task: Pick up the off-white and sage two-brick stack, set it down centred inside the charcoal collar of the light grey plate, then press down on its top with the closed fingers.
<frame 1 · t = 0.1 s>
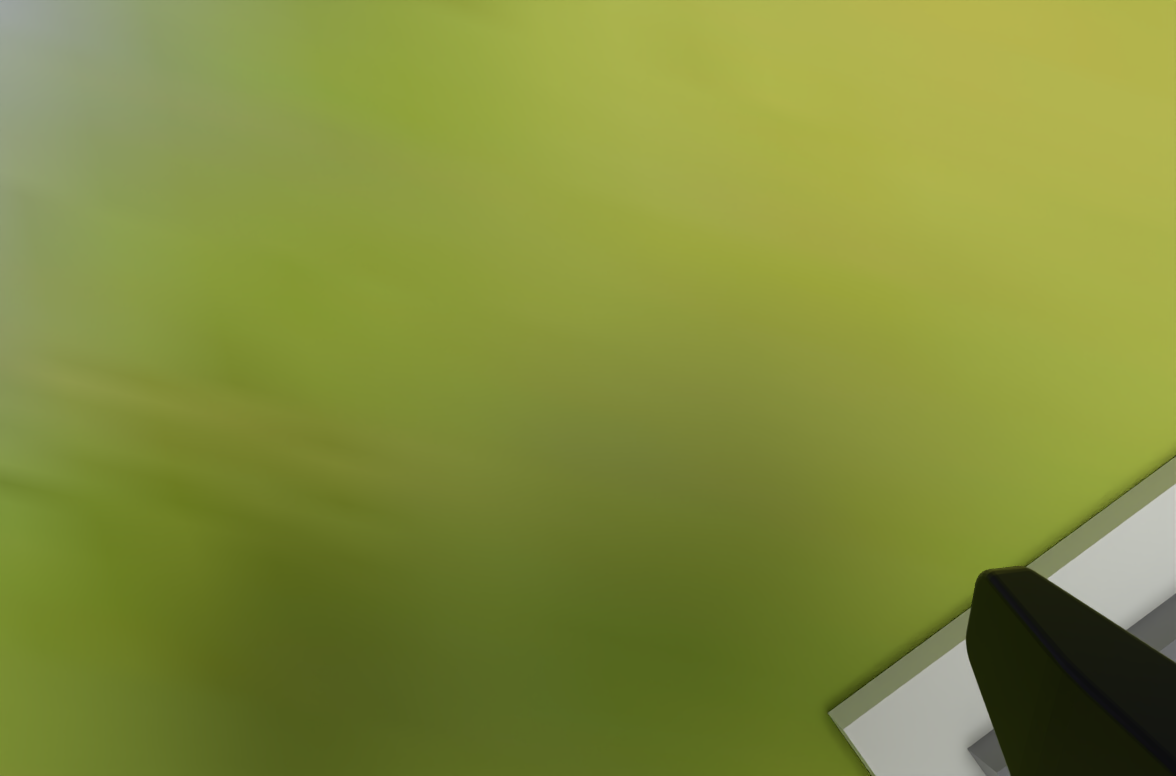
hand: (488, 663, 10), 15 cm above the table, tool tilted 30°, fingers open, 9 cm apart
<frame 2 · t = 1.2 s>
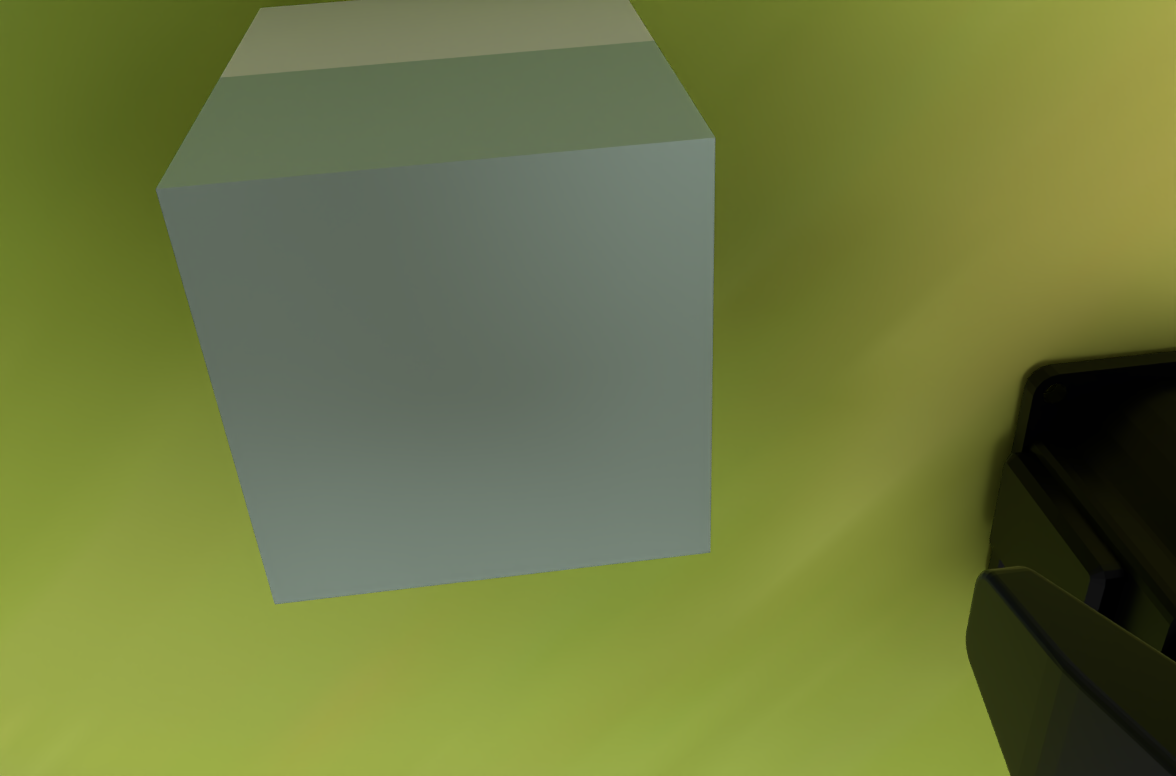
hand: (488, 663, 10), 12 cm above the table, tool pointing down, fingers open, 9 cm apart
brick stack: (460, 161, 20), on the table
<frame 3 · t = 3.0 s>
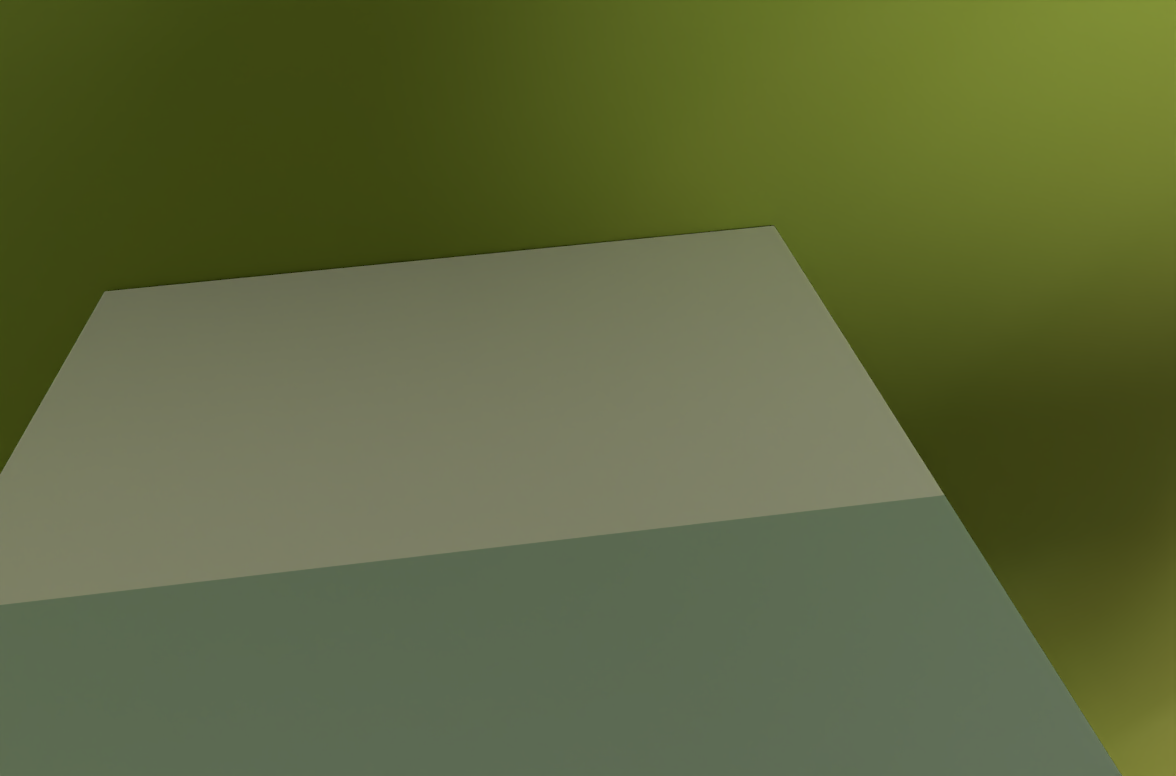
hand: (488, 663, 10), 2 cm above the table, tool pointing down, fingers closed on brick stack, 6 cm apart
brick stack: (481, 516, 11), on the table, touching gripper
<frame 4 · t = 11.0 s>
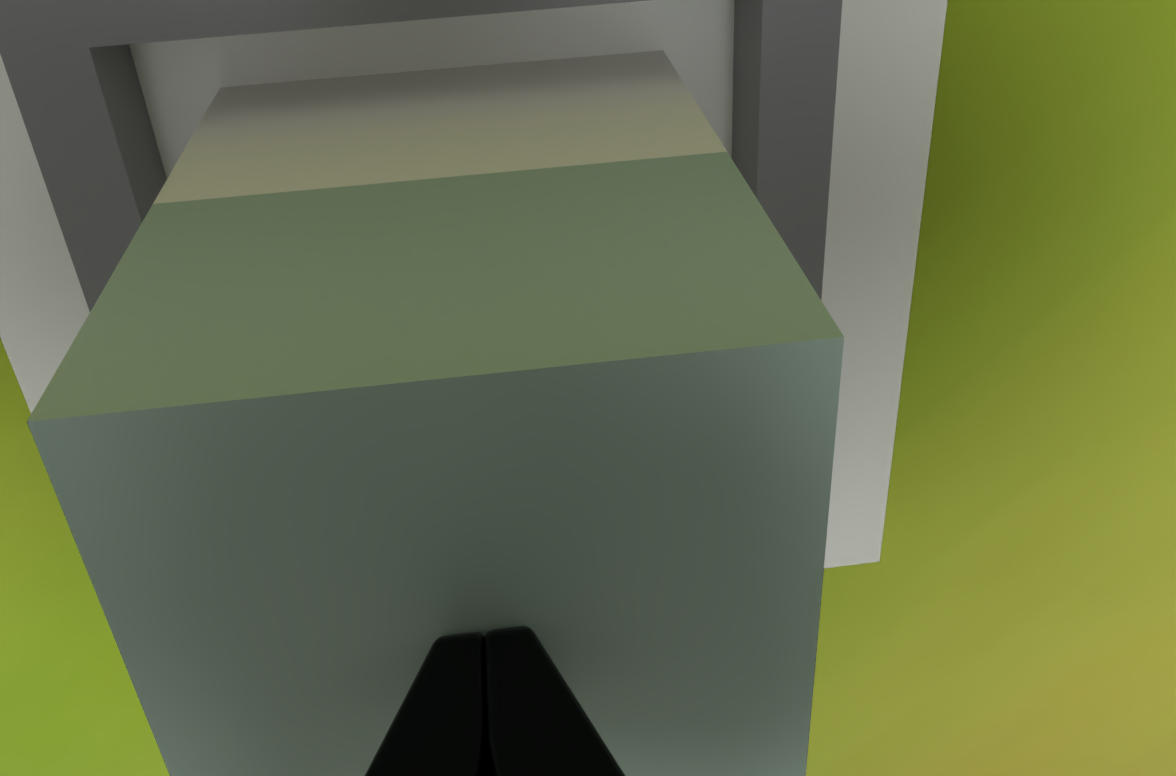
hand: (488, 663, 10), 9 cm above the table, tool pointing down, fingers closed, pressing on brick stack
socket plate: (467, 233, 17), on the table
brick stack: (469, 267, 16), point 1 cm above the table, touching gripper, socket plate
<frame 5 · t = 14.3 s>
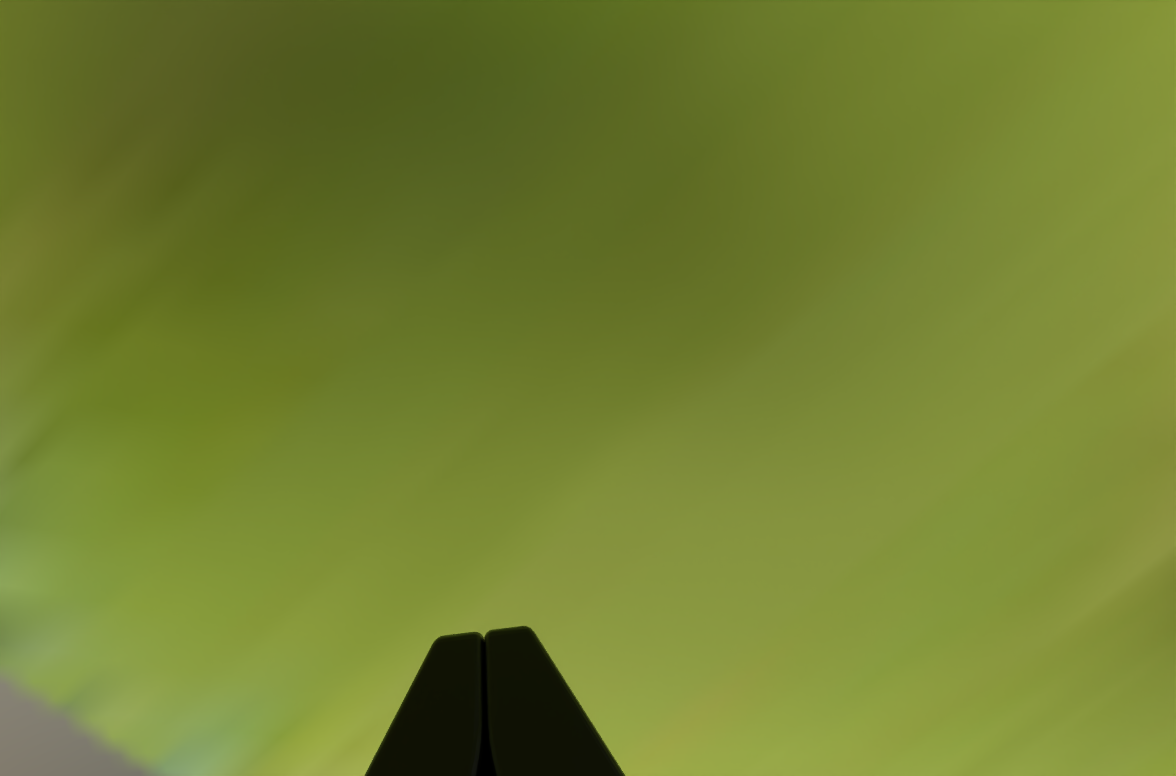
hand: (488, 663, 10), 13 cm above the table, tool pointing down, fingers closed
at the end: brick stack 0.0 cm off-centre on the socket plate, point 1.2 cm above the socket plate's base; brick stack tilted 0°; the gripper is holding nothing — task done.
